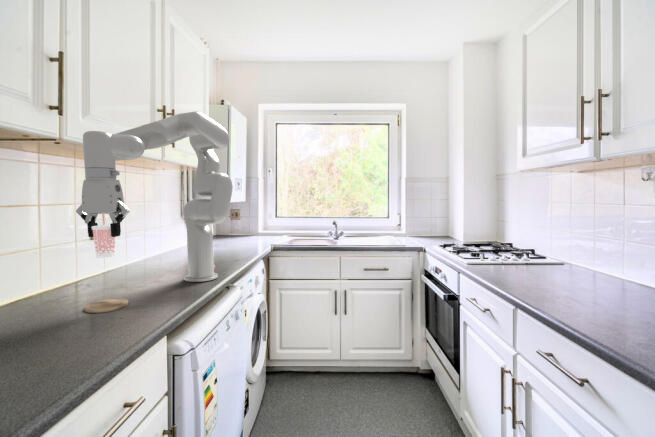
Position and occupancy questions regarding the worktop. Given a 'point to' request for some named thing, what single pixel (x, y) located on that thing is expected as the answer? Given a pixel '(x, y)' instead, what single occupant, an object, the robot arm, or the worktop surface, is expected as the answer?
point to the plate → (106, 305)
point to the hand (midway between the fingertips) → (104, 235)
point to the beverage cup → (103, 240)
